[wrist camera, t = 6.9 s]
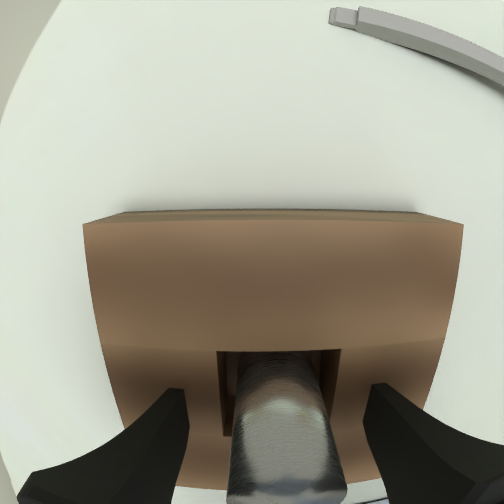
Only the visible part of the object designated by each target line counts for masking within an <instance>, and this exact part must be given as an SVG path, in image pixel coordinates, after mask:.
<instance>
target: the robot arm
mask: <svg viewBox="0 0 504 504" xmlns="http://www.w3.org/2000/svg"><path fill="white" fill-rule="evenodd" d="M362 422H363V426H364V431H365V435H366V439H367V442H368V445H369V447H370V450H371V452H372V455H373V457H374V460H375V462H376V465H377V467H378V470H379V472H380V475H381V477H382V480H383V482H384V485H385V488H386V492H387V496H388V499H385V500H381V501H376V502H372V503H367V504H504V445H500V444H495V443H491V442H487V441H484V440H481V439H478V438H475V437H472V436H470V435H467V434H465V433H462V432H460V431H458V430H456V429H454V428H452V427H450V426H448V425H446V424H444V423H442V422H440V421H439V420H437V419H436V418H434V417H432V416H431V415H429V414H428V413H426V412H425V411H423V410H422V409H420V408H419V407H418V406H416V405H415V404H414V403H412V402H411V401H410V400H408V399H407V398H406V397H404V396H403V395H402V394H400V393H399V392H398V391H396V390H395V389H394V388H393V387H391V386H390V385H388V384H387V383H386V382H385V383H378V384H372V385H371V389H370V393H369V397H368V401H367V405H366V409H365V413H364V417H363V421H362ZM189 430H190V423H189V417H188V411H187V405H186V399H185V393H184V389H178V388H168V389H167V390H166V391H165V392H164V393H163V394H162V395H161V396H160V397H159V398H158V399H157V400H156V401H155V402H154V403H153V404H152V405H151V406H150V407H149V408H148V409H147V410H146V411H145V412H144V413H143V414H142V415H141V416H140V417H139V418H138V419H137V420H135V421H134V422H133V423H132V424H131V425H129V426H128V427H127V428H126V429H125V430H123V431H122V432H121V433H120V434H118V435H117V436H116V437H114V438H113V439H111V440H110V441H108V442H107V443H105V444H104V445H102V446H100V447H99V448H97V449H95V450H93V451H91V452H89V453H87V454H85V455H83V456H81V457H79V458H77V459H74V460H72V461H69V462H67V463H64V464H61V465H58V466H55V467H51V468H47V469H43V470H39V471H35V472H32V473H31V475H30V476H29V478H28V479H27V481H26V482H25V484H24V485H23V487H22V489H21V490H20V492H19V493H18V495H17V500H18V502H19V504H171V501H172V496H173V492H174V488H175V485H176V482H177V478H178V475H179V472H180V469H181V465H182V462H183V459H184V455H185V452H186V448H187V443H188V437H189Z"/></svg>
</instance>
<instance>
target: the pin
mask: <svg viewBox="0 0 504 504" xmlns="http://www.w3.org/2000/svg"><path fill="white" fill-rule="evenodd" d="M346 494H347V485H346V481H345V477H344V473H343V470H342V466H341V462H340V458H339V455H338V451H337V447H336V444H335V440H334V436H333V433H332V429H331V426H330V422H329V418H328V415H327V411H326V408H325V404H324V401H323V397H322V394H321V390H320V387H319V383H318V380H317V376H316V373H315V370H314V366H313V363H312V359H311V356H310V353H309V350H304V351H240V355H239V364H238V375H237V386H236V397H235V408H234V419H233V430H232V441H231V453H230V464H229V476H228V487H227V499H226V501H227V504H340V503H341V502H342V501H343V500H344V498H345V496H346Z"/></svg>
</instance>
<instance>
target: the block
mask: <svg viewBox="0 0 504 504" xmlns="http://www.w3.org/2000/svg"><path fill="white" fill-rule="evenodd" d="M463 226H464V224H460V223H457V222H453V221H449V220H445V219H441V218H438V217H434V216H430V215H426V214H422V213H418V212H399V211H373V210H337V209H201V210H165V211H138V212H123V213H120V214H116V215H113V216H109V217H106V218H102V219H99V220H95V221H92V222H89V223H85V224H83V234H84V245H85V254H86V262H87V270H88V277H89V284H90V291H91V297H92V303H93V308H94V314H95V319H96V324H97V329H98V334H99V338H100V343H101V347H102V352H103V356H104V360H105V364H106V368H107V372H108V376H109V379H110V383H111V387H112V390H113V393H114V397H115V400H116V404H117V407H118V410H119V413H120V416H121V419H122V422H123V425H124V428H125V429H126V428H127V427H128V426H129V425H131V424H132V423H133V422H134V421H135V420H137V419H138V418H139V417H140V416H141V415H142V414H143V413H144V412H145V411H146V410H147V409H148V408H149V407H150V406H151V405H152V404H153V403H154V402H155V401H156V400H157V399H158V398H159V397H160V396H161V395H162V394H163V393H164V392H165V391H166V390H167V389H168V388H178V389H184V393H185V399H186V405H187V411H188V417H189V423H190V430H189V437H188V443H187V448H186V452H185V455H184V459H183V462H182V465H181V469H180V472H179V475H178V478H177V482H176V485H175V486H182V487H191V488H202V489H216V490H227V487H228V476H229V464H230V453H231V441H232V430H233V419H234V408H235V397H236V386H237V375H238V364H239V355H240V351H304V350H309V353H310V356H311V359H312V363H313V366H314V370H315V373H316V376H317V380H318V383H319V387H320V390H321V394H322V397H323V401H324V404H325V408H326V411H327V415H328V418H329V422H330V426H331V429H332V433H333V436H334V440H335V444H336V447H337V451H338V455H339V458H340V462H341V466H342V470H343V473H344V477H345V481H346V484H350V483H356V482H362V481H367V480H373V479H378V478H382V477H381V475H380V472H379V470H378V467H377V465H376V462H375V460H374V457H373V455H372V452H371V450H370V447H369V445H368V442H367V439H366V435H365V431H364V426H363V422H362V421H363V417H364V413H365V409H366V405H367V401H368V397H369V393H370V389H371V385H372V384H378V383H385V382H386V383H387V384H388V385H390V386H391V387H393V388H394V389H395V390H396V391H398V392H399V393H400V394H402V395H403V396H404V397H406V398H407V399H408V400H410V401H411V402H412V403H414V404H415V405H416V406H418V407H419V408H420V409H422V410H423V408H424V405H425V402H426V399H427V397H428V394H429V391H430V388H431V385H432V382H433V378H434V375H435V372H436V369H437V365H438V362H439V358H440V355H441V351H442V347H443V344H444V340H445V336H446V332H447V327H448V323H449V319H450V314H451V309H452V304H453V299H454V294H455V288H456V282H457V276H458V269H459V262H460V255H461V246H462V237H463Z"/></svg>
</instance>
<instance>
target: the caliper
mask: <svg viewBox="0 0 504 504" xmlns="http://www.w3.org/2000/svg"><path fill="white" fill-rule="evenodd" d="M329 24H331V25H336V26H340V27H346V28H352V29H356V32H359V33H363V34H366V35H369V36H372V37H375V38H378V39H381V40H384V41H387V42H391V43H394V44H398V45H401V46H405V47H408V48H411V49H415V50H418V51H421V52H424V53H427V54H430V55H433V56H435V57H438V58H441V59H444V60H446V61H449V62H452V63H454V64H457V65H459V66H462V67H464V68H466V69H469V70H471V71H473V72H476V73H478V74H480V75H482V76H484V77H486V78H488V79H491V80H493V81H495V82H497V83H499V84H501V85H503V86H504V58H503V57H501V56H499V55H497V54H495V53H493V52H491V51H489V50H487V49H485V48H483V47H481V46H478V45H476V44H474V43H472V42H470V41H467V40H465V39H463V38H460V37H458V36H456V35H453V34H451V33H448V32H446V31H443V30H440V29H438V28H435V27H432V26H429V25H426V24H423V23H420V22H417V21H414V20H411V19H408V18H404V17H401V16H398V15H394V14H390V13H386V12H383V11H379V10H374V9H370V8H366V7H361V6H359V8H358V11H356V10H351V9H346V8H340V7H336V8H331V10H330V18H329Z"/></svg>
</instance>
